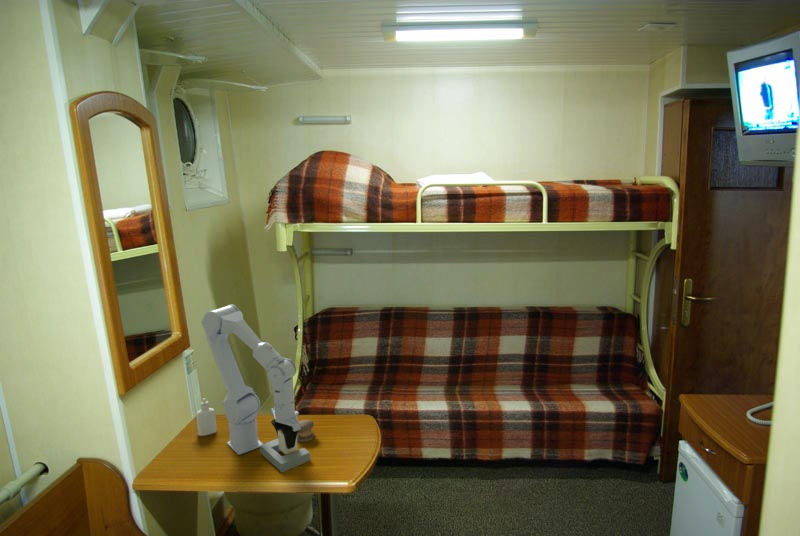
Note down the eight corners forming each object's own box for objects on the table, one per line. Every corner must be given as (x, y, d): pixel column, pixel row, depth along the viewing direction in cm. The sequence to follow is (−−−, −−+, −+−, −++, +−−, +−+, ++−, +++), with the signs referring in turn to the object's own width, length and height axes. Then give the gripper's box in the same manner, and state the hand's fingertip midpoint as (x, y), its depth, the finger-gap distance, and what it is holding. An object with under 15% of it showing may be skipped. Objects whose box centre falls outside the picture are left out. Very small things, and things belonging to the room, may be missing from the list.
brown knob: (291, 437, 155) (290, 424, 154) (308, 430, 159) (307, 418, 158) (301, 444, 151) (300, 430, 150) (317, 437, 154) (317, 424, 154)
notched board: (260, 452, 146) (259, 445, 146) (287, 442, 152) (287, 434, 152) (282, 472, 136) (281, 464, 135) (310, 460, 141) (309, 452, 141)
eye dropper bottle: (201, 429, 162) (198, 395, 160) (218, 429, 162) (215, 395, 160) (196, 436, 158) (192, 401, 156) (213, 436, 157) (210, 401, 155)
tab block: (278, 449, 145) (277, 430, 144) (291, 444, 147) (289, 425, 146) (285, 454, 142) (283, 435, 141) (297, 449, 144) (296, 430, 143)
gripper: (308, 405, 139) (311, 449, 141) (285, 390, 150) (287, 431, 152) (286, 412, 134) (289, 458, 137) (263, 397, 145) (266, 439, 147)
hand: (287, 444), depth 144 cm, fingers closed on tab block, 4 cm apart
